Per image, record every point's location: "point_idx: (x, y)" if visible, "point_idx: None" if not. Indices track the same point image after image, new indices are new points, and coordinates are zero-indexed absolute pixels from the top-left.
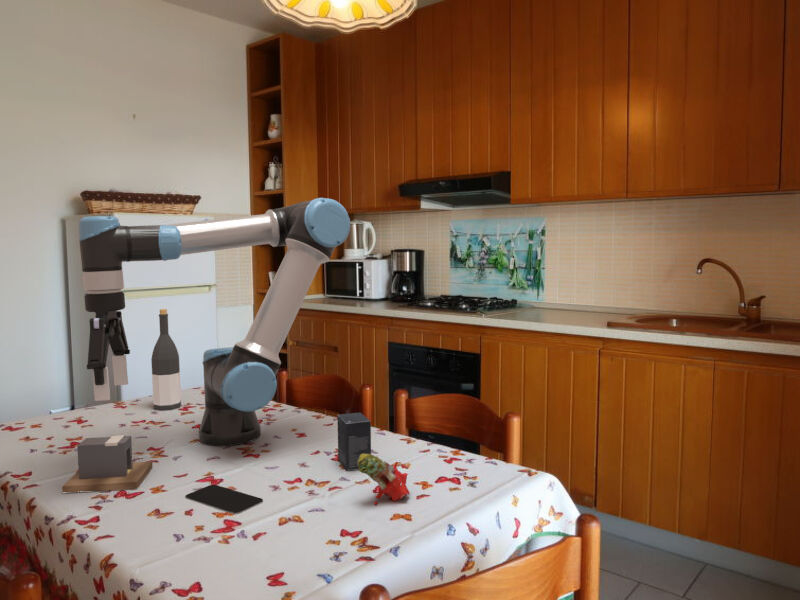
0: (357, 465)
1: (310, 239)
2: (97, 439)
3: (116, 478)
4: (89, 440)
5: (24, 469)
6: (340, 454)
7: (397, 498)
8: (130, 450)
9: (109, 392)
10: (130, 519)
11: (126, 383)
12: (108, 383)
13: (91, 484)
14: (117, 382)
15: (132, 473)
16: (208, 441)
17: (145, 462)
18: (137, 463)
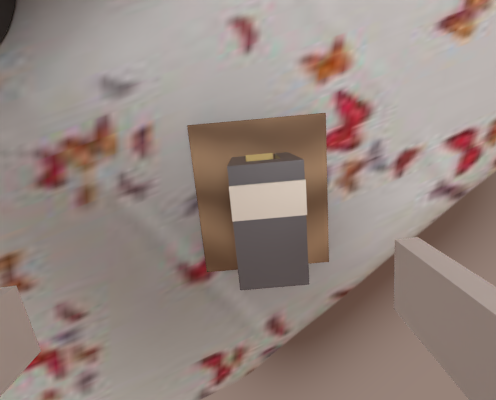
0: None
1: None
2: (257, 253)
3: None
4: (264, 272)
5: (188, 377)
6: None
7: None
8: (243, 160)
9: (426, 258)
10: (481, 66)
11: (10, 294)
12: (491, 296)
13: (327, 208)
14: (21, 348)
15: (270, 143)
16: (1, 17)
17: (195, 140)
18: (201, 157)
